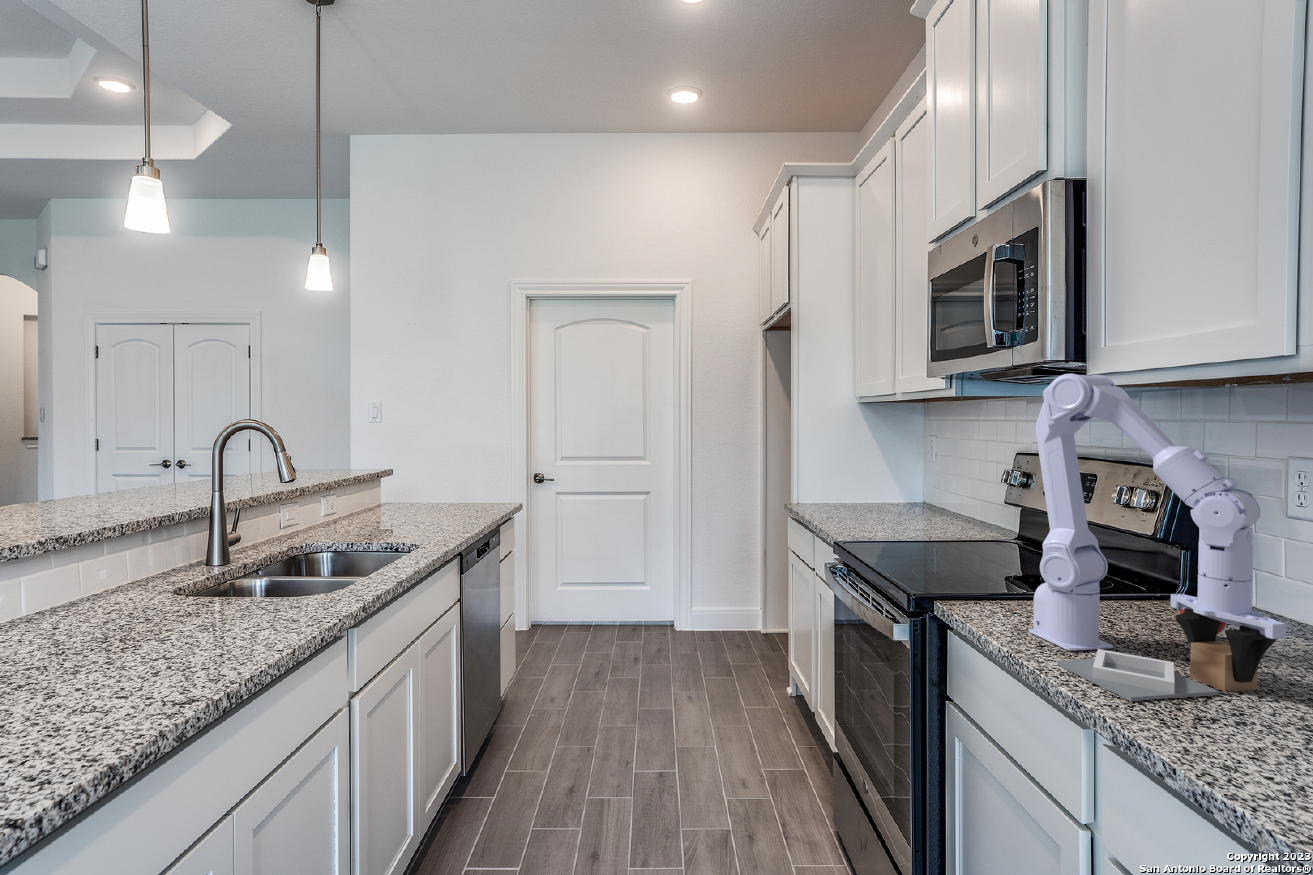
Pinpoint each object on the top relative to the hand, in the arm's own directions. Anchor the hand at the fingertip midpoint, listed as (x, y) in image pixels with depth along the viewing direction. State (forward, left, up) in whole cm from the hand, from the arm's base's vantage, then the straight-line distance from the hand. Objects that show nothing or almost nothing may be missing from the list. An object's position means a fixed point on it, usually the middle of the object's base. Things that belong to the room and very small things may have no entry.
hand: (1222, 673), depth 91 cm
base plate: (-3, -11, -1) cm, 11 cm away
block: (0, 0, -1) cm, 1 cm away
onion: (-16, +14, -2) cm, 21 cm away
